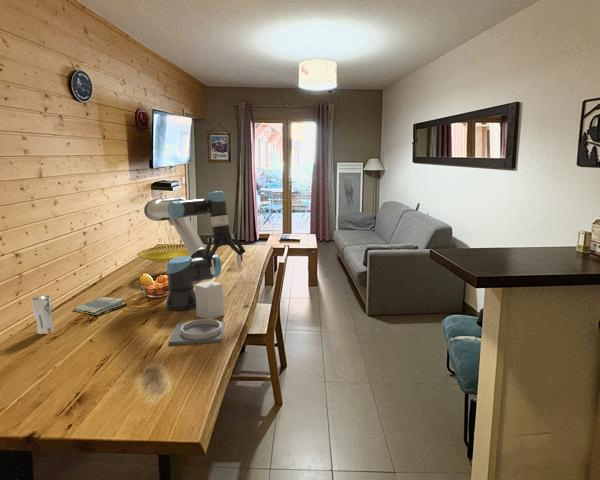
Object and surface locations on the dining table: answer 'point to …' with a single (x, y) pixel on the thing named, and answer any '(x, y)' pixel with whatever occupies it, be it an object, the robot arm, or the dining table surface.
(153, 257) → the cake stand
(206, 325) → the bottle holder
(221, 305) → the supplement box
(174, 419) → the dining table surface
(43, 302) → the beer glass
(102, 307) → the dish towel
